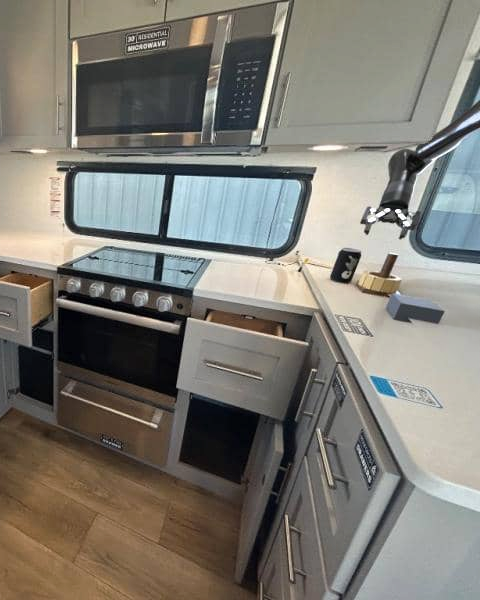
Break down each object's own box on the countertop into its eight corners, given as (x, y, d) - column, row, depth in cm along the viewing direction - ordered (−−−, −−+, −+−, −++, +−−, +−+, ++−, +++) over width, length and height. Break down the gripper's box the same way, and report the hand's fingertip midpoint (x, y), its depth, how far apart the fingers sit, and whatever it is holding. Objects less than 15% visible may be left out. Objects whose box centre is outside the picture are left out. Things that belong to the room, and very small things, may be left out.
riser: (424, 316, 96) (432, 300, 94) (436, 327, 89) (445, 311, 87) (385, 308, 100) (392, 293, 98) (393, 319, 93) (400, 303, 91)
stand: (391, 290, 116) (408, 253, 111) (399, 299, 108) (418, 259, 103) (356, 284, 120) (371, 248, 115) (362, 292, 112) (378, 254, 107)
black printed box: (332, 282, 121) (344, 250, 117) (326, 276, 127) (337, 246, 122) (353, 284, 120) (366, 252, 115) (346, 279, 125) (358, 248, 121)
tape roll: (397, 288, 114) (402, 276, 112) (395, 295, 107) (401, 282, 105) (360, 280, 120) (365, 268, 119) (356, 286, 113) (361, 274, 112)
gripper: (372, 188, 113) (359, 225, 109) (429, 191, 105) (417, 232, 101) (367, 203, 119) (354, 238, 115) (420, 207, 111) (408, 246, 107)
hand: (383, 235), depth 108 cm, fingers open, 8 cm apart
